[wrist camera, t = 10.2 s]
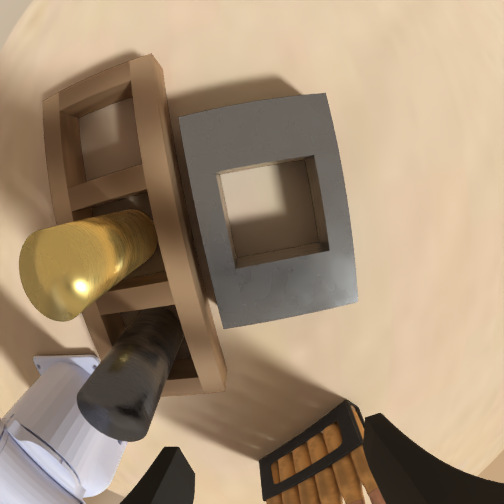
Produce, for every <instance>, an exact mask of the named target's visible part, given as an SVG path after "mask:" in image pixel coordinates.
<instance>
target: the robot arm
mask: <svg viewBox="0 0 504 504" xmlns="http://www.w3.org/2000/svg"><path fill="white" fill-rule="evenodd" d="M33 362H34V364H35V366H36V368H37V370H38V372H39V374H40V377H39V378H38V379H37V380H36V381H35V383H34V384H33V385H32V386H31V387H30V388H29V389H28V390H27V391H26V392H25V393H24V394H23V396H22V397H21V398H20V399H19V400H18V401H17V402H16V403H15V404H14V406H13V407H12V408H11V409H10V410H9V411H8V412H7V413H6V415H5V416H4V417H3V418H2V419H1V418H0V504H86V503H85V502H84V501H83V500H82V499H83V497H92V496H95V495H98V494H100V493H101V492H102V491H104V490H105V489H106V488H107V487H108V486H109V485H110V483H111V482H112V480H113V477H114V475H115V472H116V470H117V467H118V465H119V462H120V460H121V457H122V455H123V452H124V450H125V447H126V445H127V443H128V442H126V441H120V440H116V439H113V438H111V437H108V436H106V435H104V434H103V433H101V432H99V431H98V430H96V429H95V428H94V427H93V426H92V425H90V424H89V423H88V422H87V421H86V419H85V418H84V417H83V415H82V414H81V412H80V410H79V408H78V405H77V394H78V392H79V390H80V389H81V388H82V386H83V385H84V384H85V382H86V381H87V379H88V378H89V377H90V375H91V374H92V373H93V371H94V370H95V369H96V367H95V366H94V365H96V366H98V365H99V364H100V362H99V359H98V358H97V357H96V356H95V355H61V356H35V357H33ZM363 450H364V454H365V457H366V460H367V463H368V466H369V469H370V471H371V473H372V475H373V478H374V480H375V482H376V484H377V486H378V488H379V490H380V492H381V494H382V497H383V499H384V501H385V503H386V504H504V483H498V482H494V481H490V480H486V479H483V478H480V477H477V476H474V475H471V474H468V473H465V472H463V471H461V470H459V469H456V468H454V467H452V466H450V465H448V464H446V463H445V462H443V461H441V460H439V459H438V458H436V457H434V456H433V455H431V454H430V453H428V452H427V451H425V450H424V449H423V448H421V447H420V446H418V445H417V444H416V443H415V442H413V441H412V440H411V439H409V438H408V437H407V436H406V435H404V434H403V433H402V432H401V431H400V430H399V429H398V428H396V427H395V426H394V425H393V424H392V423H391V422H390V421H389V420H388V419H387V418H386V417H385V416H384V415H383V414H381V413H378V414H375V415H372V416H369V417H365V427H364V438H363ZM194 492H195V473H194V471H193V470H192V468H191V467H190V465H189V463H188V462H187V460H186V458H185V457H184V455H183V453H182V452H181V450H180V448H179V447H164V448H163V449H162V451H161V452H160V454H159V455H158V456H157V458H156V459H155V461H154V462H153V464H152V465H151V466H150V468H149V469H148V471H147V472H146V473H145V475H144V476H143V477H142V478H141V480H140V481H139V482H138V484H137V485H136V486H135V487H134V488H133V490H132V491H131V492H130V493H129V494H128V495H127V496H126V497H125V499H124V500H123V501H122V502H121V503H120V504H193V500H194Z"/></svg>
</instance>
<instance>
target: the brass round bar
mask: <svg viewBox="0 0 504 504" xmlns="http://www.w3.org/2000/svg"><path fill="white" fill-rule="evenodd" d="M157 241H158V238H157V234H156V229H155V225H154V223H153V221H152V220H151V219H150V217H149V216H147V215H146V214H145V213H143V212H141V211H139V210H134V209H129V210H124V211H119V212H114V213H109V214H105V215H100V216H96V217H91V218H87V219H83V220H78V221H74V222H70V223H66V224H62V225H58V226H54V227H50V228H46V229H42V230H38V231H36V232H34V233H32V234H31V235H30V236H29V237H28V238H27V239H26V241H25V242H24V244H23V246H22V249H21V253H20V258H19V272H20V278H21V282H22V285H23V288H24V290H25V293H26V295H27V296H28V298H29V300H30V301H31V303H32V304H33V305H34V307H35V308H36V309H37V310H38V311H39V312H40V313H42V314H43V315H44V316H46V317H48V318H50V319H52V320H55V321H69V320H71V319H73V318H75V317H76V316H78V315H79V314H80V313H81V312H82V311H84V310H85V309H86V308H87V307H88V306H90V305H91V304H92V303H93V302H94V301H96V300H97V299H98V298H99V297H101V296H102V295H103V294H104V293H106V292H107V291H108V290H109V289H111V288H112V287H113V286H114V285H116V284H117V283H118V282H120V281H121V280H122V279H123V278H125V277H126V276H127V275H128V274H130V273H131V272H132V271H134V270H135V269H136V268H138V267H139V266H140V265H141V264H143V263H144V262H145V261H147V260H148V259H149V258H150V257H151V256H152V255H153V253H154V252H155V249H156V247H157Z"/></svg>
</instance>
